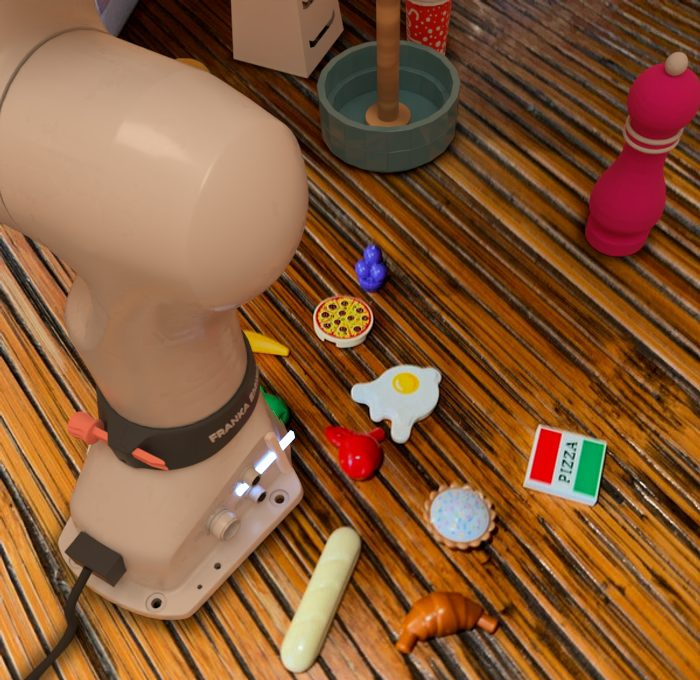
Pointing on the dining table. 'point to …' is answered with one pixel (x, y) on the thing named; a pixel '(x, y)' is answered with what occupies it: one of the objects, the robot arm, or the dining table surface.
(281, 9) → the grater
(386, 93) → the stick
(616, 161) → the pepper mill
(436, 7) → the beverage cup
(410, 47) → the bowl
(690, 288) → the dining table surface
